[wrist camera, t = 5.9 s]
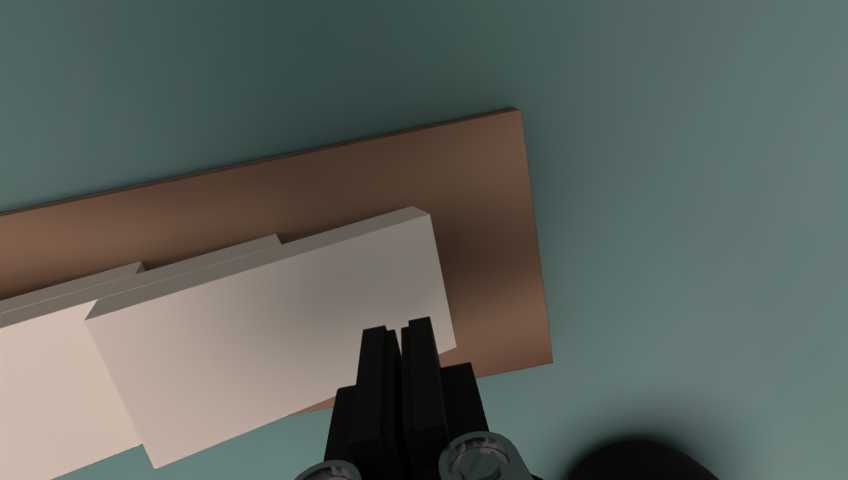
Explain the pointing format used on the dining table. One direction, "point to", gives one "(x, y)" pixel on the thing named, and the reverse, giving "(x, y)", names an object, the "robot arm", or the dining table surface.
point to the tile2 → (71, 378)
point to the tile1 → (265, 330)
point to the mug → (640, 464)
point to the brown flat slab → (327, 224)
